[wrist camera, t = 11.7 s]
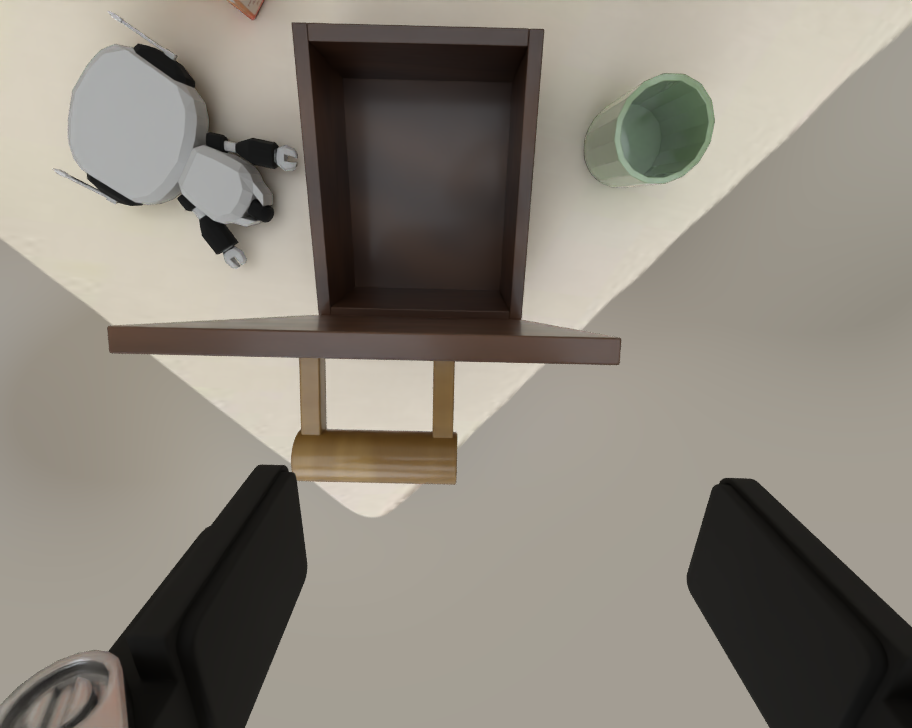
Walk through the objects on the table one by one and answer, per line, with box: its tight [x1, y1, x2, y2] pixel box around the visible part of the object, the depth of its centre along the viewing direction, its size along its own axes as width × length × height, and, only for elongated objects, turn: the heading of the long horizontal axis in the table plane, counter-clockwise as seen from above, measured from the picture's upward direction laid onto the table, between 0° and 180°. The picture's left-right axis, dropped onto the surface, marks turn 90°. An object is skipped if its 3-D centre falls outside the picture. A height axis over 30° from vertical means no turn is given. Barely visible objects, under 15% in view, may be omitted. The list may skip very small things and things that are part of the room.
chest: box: [292, 23, 544, 320], centre depth 32 cm, size 18×15×9 cm
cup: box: [584, 73, 715, 187], centre depth 31 cm, size 6×6×8 cm
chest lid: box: [107, 315, 621, 485], centre depth 22 cm, size 19×15×5 cm
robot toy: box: [52, 11, 298, 268], centre depth 34 cm, size 12×4×15 cm
